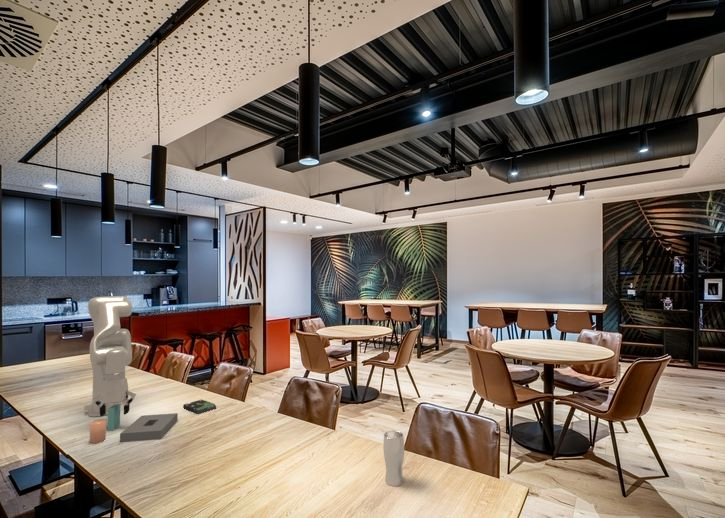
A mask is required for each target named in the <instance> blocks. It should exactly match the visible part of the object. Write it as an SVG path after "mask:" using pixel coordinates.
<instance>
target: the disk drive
mask: <svg viewBox="0 0 725 518" xmlns="http://www.w3.org/2000/svg"><path fill="white" fill-rule="evenodd" d="M183 408H184V409H183ZM182 409H183V410H185V409H186V411H187V410H188V412H190V411H191V412H190V413H192V412H193V414H194V415H197V414H198V415H200V414H201V413H202V414H203V413H204V412H205V413H208V412H211V411H213V409H214V410H216V409H217V405H216V404H215V403H213V402H210V401H208V400H204V399H198V400H193V401H192V402H189V403H184V404H183V406H182ZM210 410H211V411H210ZM207 411H208V412H207Z"/></svg>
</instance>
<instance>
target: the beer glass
mask: <svg viewBox="0 0 725 518" xmlns="http://www.w3.org/2000/svg"><path fill="white" fill-rule="evenodd" d="M382 446H383V457H384V462H385V469H386V471H385V478H384V479H385V484H387V485H389V486H391V487H399V486H401V485H403V484H404V475H403V464H404V457H405V440H404V434H403V432H401V431H398V430H388V431H386V432H384V434H383V445H382Z"/></svg>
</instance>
